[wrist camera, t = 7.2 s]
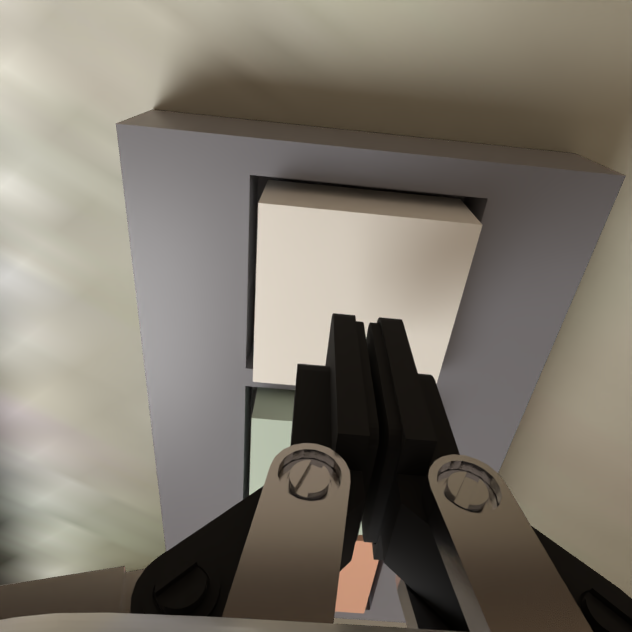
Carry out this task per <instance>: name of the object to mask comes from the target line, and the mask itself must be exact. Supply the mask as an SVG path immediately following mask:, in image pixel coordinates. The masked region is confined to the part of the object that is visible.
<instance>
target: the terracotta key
mask: <svg viewBox="0 0 632 632" xmlns="http://www.w3.org/2000/svg"><path fill="white" fill-rule="evenodd" d="M378 561H379V560H374V559H373V549H372V543H369V542H364V541H363V535H358V538H357V541H356V542H355V547H354V551H353V556H352V560H351V562H349V563H348V564H347V565H346V566H345V567H344V568H343V569H342V570H341V571H340V573H339V582H338V590H337V598H336V607H335V612H349V613H364V612H365V608H366V605H367V601H368V597H369V594H370V590H371V587H372V583H373V579H374V576H375V572H376V569H377V565H378Z"/></svg>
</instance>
